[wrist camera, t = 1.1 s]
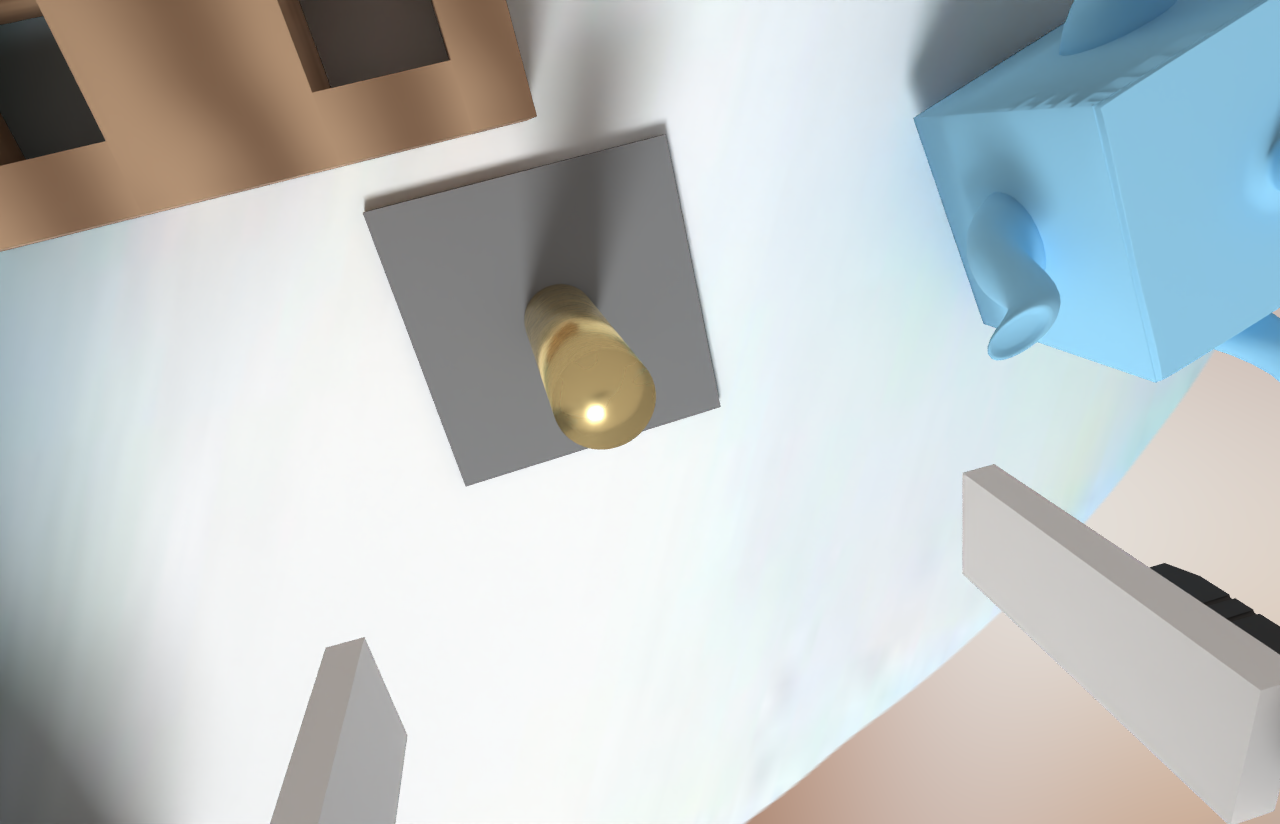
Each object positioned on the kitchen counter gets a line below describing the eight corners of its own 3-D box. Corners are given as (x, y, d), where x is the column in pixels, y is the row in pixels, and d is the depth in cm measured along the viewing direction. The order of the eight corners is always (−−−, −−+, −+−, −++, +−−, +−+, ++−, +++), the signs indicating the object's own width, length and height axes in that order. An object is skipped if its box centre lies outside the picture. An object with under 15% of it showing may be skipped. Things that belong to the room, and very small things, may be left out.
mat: (465, 482, 37) (465, 486, 36) (364, 211, 31) (363, 213, 31) (717, 403, 38) (720, 406, 38) (663, 134, 33) (665, 134, 33)
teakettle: (1239, 27, 38) (1664, -41, 24) (1089, 358, 43) (1371, 452, 30) (953, -107, 32) (1300, -289, 19) (821, 292, 38) (1019, 371, 24)
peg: (535, 363, 35) (568, 462, 24) (514, 295, 34) (539, 367, 23) (603, 343, 35) (665, 431, 24) (585, 275, 34) (643, 336, 23)
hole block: (2, 251, 29) (-85, 271, 24) (-162, -29, 25) (-303, -68, 20) (526, 120, 32) (536, 116, 27) (452, -150, 28) (450, -208, 23)
